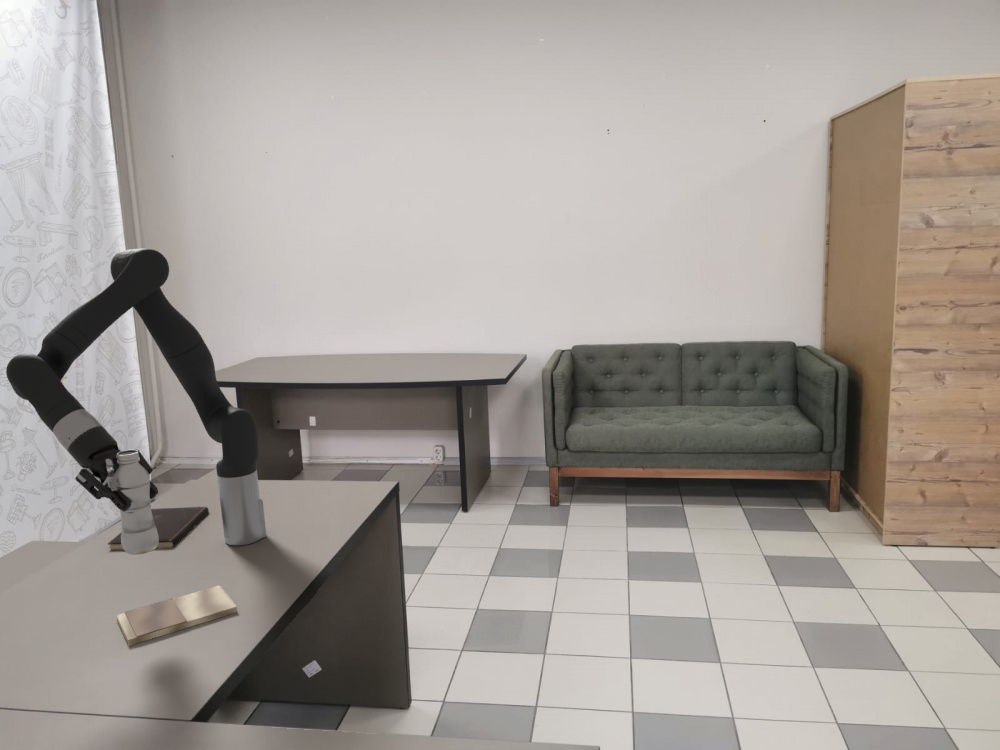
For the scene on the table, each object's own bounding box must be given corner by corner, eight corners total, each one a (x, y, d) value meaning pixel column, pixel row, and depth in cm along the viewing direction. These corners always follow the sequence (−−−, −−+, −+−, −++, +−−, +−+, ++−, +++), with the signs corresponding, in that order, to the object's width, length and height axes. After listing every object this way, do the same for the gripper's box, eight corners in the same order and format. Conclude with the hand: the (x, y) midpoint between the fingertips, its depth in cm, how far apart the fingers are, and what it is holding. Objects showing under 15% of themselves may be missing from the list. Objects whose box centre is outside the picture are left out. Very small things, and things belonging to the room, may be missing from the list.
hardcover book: (108, 552, 190) (107, 543, 189) (150, 516, 212) (149, 508, 212) (174, 549, 190) (173, 540, 189) (209, 514, 212) (208, 506, 212)
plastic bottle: (146, 559, 147) (132, 458, 143) (115, 557, 148) (99, 457, 144) (167, 545, 153) (154, 447, 149) (137, 543, 155) (123, 446, 151)
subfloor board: (220, 590, 166) (219, 584, 165) (237, 611, 156) (236, 605, 156) (117, 620, 155) (116, 614, 154) (128, 645, 145) (127, 639, 145)
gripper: (61, 436, 142) (121, 503, 140) (123, 416, 155) (178, 477, 153) (44, 462, 144) (102, 528, 143) (106, 440, 158) (160, 500, 156)
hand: (141, 501), depth 148 cm, fingers closed on plastic bottle, 6 cm apart
